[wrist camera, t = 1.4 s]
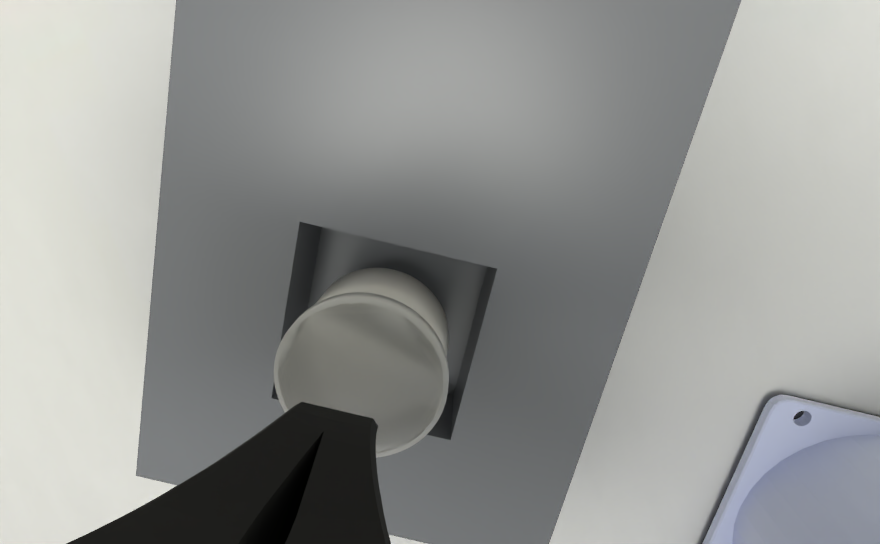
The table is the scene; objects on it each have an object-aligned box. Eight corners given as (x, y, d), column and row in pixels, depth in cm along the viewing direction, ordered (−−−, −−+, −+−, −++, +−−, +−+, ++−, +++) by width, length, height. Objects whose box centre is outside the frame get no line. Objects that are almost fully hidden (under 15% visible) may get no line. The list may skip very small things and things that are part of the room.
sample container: (468, 283, 14) (467, 322, 11) (434, 412, 15) (426, 474, 13) (321, 248, 14) (287, 279, 11) (298, 380, 15) (262, 436, 12)
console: (293, -524, 12) (237, -723, 9) (824, -389, 12) (933, -543, 9) (187, 420, 19) (135, 475, 16) (529, 500, 19) (539, 569, 16)
